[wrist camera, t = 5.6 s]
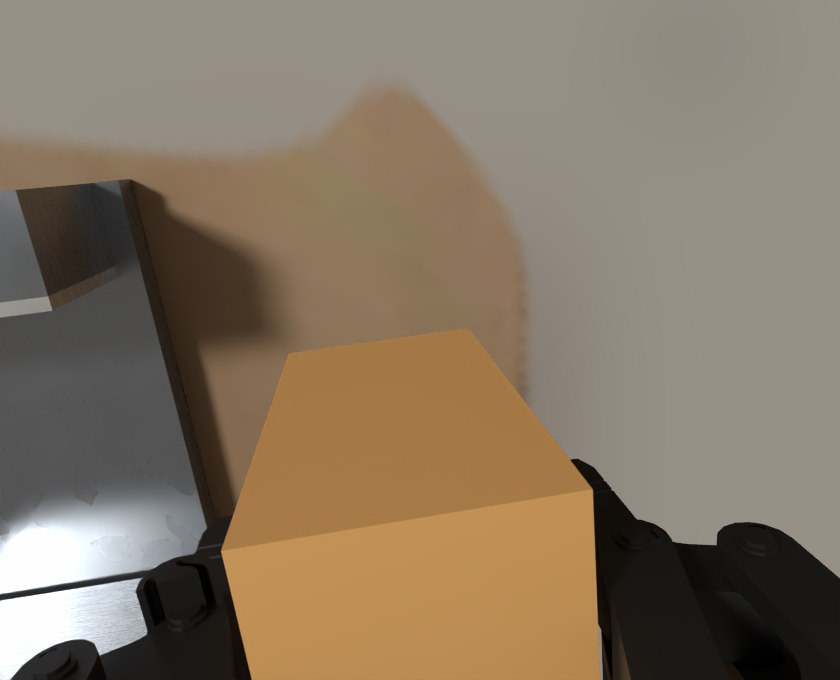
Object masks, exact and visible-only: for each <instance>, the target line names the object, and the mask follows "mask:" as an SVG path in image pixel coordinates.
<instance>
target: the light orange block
mask: <svg viewBox="0 0 840 680" xmlns="http://www.w3.org/2000/svg"><path fill="white" fill-rule="evenodd" d="M221 553H222V557H223V561H224V566H225V570H226V574H227V578H228V582H229V586H230V591H231V595H232V599H233V603H234V607H235V611H236V616H237V620H238V624H239V628H240V632H241V636H242V641H243V645H244V649H245V653H246V657H247V661H248V666H249V670H250V674H251V678H252V680H600V665H599V664H600V663H599V637H598V612H597V586H596V560H595V535H594V509H593V489H592V488H591V486H590V485H589V484H588V483H587V481H586V480H585V479H584V477H583V476H582V475H581V474H580V472H579V471H578V470H577V468H576V467H575V466H574V465H573V463H572V462H571V461H570V459H569V458H568V457H567V456H566V454H565V453H564V452H563V450H562V449H561V448H560V447H559V445H558V444H557V443H556V441H555V440H554V439H553V437H552V436H551V435H550V434H549V432H548V431H547V430H546V428H545V427H544V426H543V425H542V423H541V422H540V421H539V419H538V418H537V417H536V416H535V414H534V413H533V412H532V410H531V409H530V408H529V406H528V405H527V404H526V403H525V401H524V400H523V399H522V397H521V396H520V395H519V394H518V392H517V391H516V390H515V388H514V387H513V386H512V385H511V383H510V382H509V381H508V379H507V378H506V377H505V376H504V374H503V373H502V372H501V370H500V369H499V368H498V366H497V365H496V364H495V363H494V361H493V360H492V359H491V357H490V356H489V355H488V354H487V352H486V351H485V350H484V348H483V347H482V346H481V345H480V343H479V342H478V341H477V339H476V338H475V337H474V336H473V334H472V333H471V332H470V330H469V329H468V328H466V329H459V330H452V331H444V332H437V333H430V334H423V335H416V336H409V337H402V338H395V339H388V340H381V341H374V342H367V343H360V344H353V345H346V346H338V347H331V348H324V349H317V350H310V351H303V352H296V353H289V355H288V358H287V361H286V363H285V366H284V369H283V372H282V375H281V378H280V381H279V384H278V387H277V390H276V392H275V395H274V398H273V401H272V404H271V407H270V410H269V413H268V416H267V419H266V422H265V424H264V427H263V430H262V433H261V436H260V439H259V442H258V445H257V448H256V451H255V453H254V456H253V459H252V462H251V465H250V468H249V471H248V474H247V477H246V480H245V482H244V485H243V488H242V491H241V494H240V497H239V500H238V503H237V506H236V509H235V512H234V514H233V517H232V520H231V523H230V526H229V529H228V532H227V535H226V538H225V541H224V543H223V546H222V549H221Z"/></svg>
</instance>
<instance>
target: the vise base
mask: <svg viewBox="0 0 840 680" xmlns="http://www.w3.org/2000/svg"><path fill="white" fill-rule="evenodd" d="M215 520H216V519H215V515H214V511H213V507H212V503H211V499H210V495H209V491H208V487H207V483H206V479H205V475H204V471H203V467H202V463H201V459H200V455H199V451H198V447H197V443H196V439H195V435H194V431H193V427H192V423H191V419H190V415H189V411H188V407H187V403H186V399H185V395H184V391H183V387H182V383H181V379H180V375H179V371H178V367H177V363H176V359H175V355H174V351H173V347H172V343H171V339H170V335H169V331H168V327H167V323H166V319H165V315H164V311H163V307H162V302H161V298H160V294H159V290H158V286H157V282H156V278H155V274H154V270H153V266H152V262H151V258H150V254H149V250H148V246H147V242H146V238H145V234H144V230H143V226H142V222H141V218H140V214H139V210H138V206H137V202H136V198H135V194H134V190H133V186H132V182H131V179H128V180H117V181H108V182H99V183H90V184H79V185H68V186H57V187H46V188H34V189H23V190H13V191H4V192H0V601H2V600H9V599H15V598H21V597H27V596H33V595H39V594H46V593H52V592H58V591H64V590H70V589H76V588H83V587H89V586H95V585H101V584H107V583H113V582H120V581H126V580H132V579H138V578H143V577H144V576H145V575H146V574H147V573H148V572H149V571H150V570H152V569H153V568H155V567H157V566H158V565H160V564H161V563H163V562H166V561H168V560H171V559H173V558H176V557H180V556H185V555H190V554H195V551H196V550H197V547H198V544H199V542H200V539H201V537H202V534H203V532H204V531H205V530H206V529H207V528H208V527H209V526H210V525H211V524H212V523H213V522H214V521H215ZM251 680H252V678H251Z"/></svg>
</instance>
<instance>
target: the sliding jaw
mask: <svg viewBox="0 0 840 680" xmlns="http://www.w3.org/2000/svg"><path fill="white" fill-rule="evenodd" d="M141 579H142V578H138V579H132V580H126V581H120V582H113V583H107V584H101V585H95V586H89V587H83V588H76V589H70V590H64V591H58V592H52V593H46V594H39V595H33V596H27V597H21V598H15V599H9V600H2V601H0V680H11V678H12V677H13V676H14V675H15V673H16V672H17V671H18V670H19V669H20V668H21V666H22V665H23V664H25V663H26V662H27V661H29V660H30V659H31V658H33V657H34V656H35V655H36V654H38V653H40V652H42V651H43V650H45V649H47V648H49V647H51V646H53V645H55V644H59V643H62V642H65V641H69V640H79V639H85V640H88V641H90V642H93V643H94V644H95V646H96V648H97V650H98V653H99V656H100V655H102V654H105V653H107V652H110V651H112V650H115V649H117V648H120V647H123V646H125V645H128V644H130V643H132V642H134V641H136V640H138V639H140V638H142V637H144V636H145V635H147V628H146V624H145V621H144V618H143V614H142V611H141V608H140V604H139V601H138V598H137V594H136V588H137V586H138V584H139V581H140V580H141Z"/></svg>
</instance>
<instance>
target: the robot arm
mask: <svg viewBox="0 0 840 680" xmlns="http://www.w3.org/2000/svg"><path fill="white" fill-rule="evenodd" d="M570 461H571V462H572V463H573V465H574V466H575V467H576V468H577V470H578V471H579V472H580V474H581V475H582V476H583V477H584V479H585V480H586V481H587V483H588V484H589V485H590V486H591V488H592V489H593V509H594V535H595V560H596V586H597V612H598V625H599V626H600V628H601V631H602V632H601V633H602V663H603V680H840V578H839V577H837V576H836V575H835V574H834V573H833V572H832V571H830V570H829V569H828V568H827V567H826V566H825V565H823V564H822V563H821V562H820V561H819V560H817V559H816V558H815V557H814V556H813V555H812V554H810V553H809V552H808V551H807V550H806V549H805V548H803V547H802V546H801V545H800V544H799V543H798V542H796V541H795V540H794V539H793V538H792V537H790V536H788V535H786V534H785V533H784V532H782V531H780V530H778V529H775V528H772V527H770V526H767V525H764V524H759V523H750V522H744V523H733V524H730V525H727V526H724V527H723V528H722V529H721V530H720V531H719V532H718V534H717V545H696V544H682V543H676V542H672V539H671V538H670V536H669V535H668V534H667V533H666V531H664V530H663V529H662V528H660V527H658V526H657V525H655V524H653V523H650V522H646V521H643V520H637V519H636V518H635V517H634V515H633V514H632V513H631V512H630V511H629V509H628V508H627V507H626V506H625V505H624V503H623V502H622V501H621V500H620V498H619V497H618V496H617V495H616V494H615V492H614V491H612V490H611V488H610V486H609V485H608V484H607V483H606V482H605V481H604V479H603V478H602V477H601V475H600V474H599V473H598V472H597V470H596V469H595V468H594V467H592V466H590V465H589V464H587V463H585V462H583V461H581V460H579V459H572V460H570ZM232 517H233V516H227V517H221V518H217V519H216V520H215V521H214V522H213V523H212V524H211V525H210V526H209V527H208V528H207V529H206V530H205V531H204V532H203V534H202V537H201V539H200V542H199V544H198V547H197V550H196V551H195V554H190V555H185V556H180V557H176V558H173V559H171V560H168V561H166V562H163V563H161V564H160V565H158V566H157V567H155V568H153V569H152V570H150V571H149V572H148V573H147V574H146V575H145V576H144V577H143V578H142V579H141V580H140V581H139V584H138V586H137V588H136V594H137V598H138V601H139V604H140V608H141V611H142V614H143V618H144V621H145V624H146V628H147V635H145V636H144V637H142V638H140V639H138V640H136V641H134V642H132V643H130V644H128V645H125V646H123V647H120V648H117V649H115V650H112V651H110V652H107V653H105V654H102V655H100V656H99V653H98V650H97V648H96V646H95V644H94V643H93V642H90V641H88V640H85V639H79V640H69V641H65V642H62V643H59V644H55V645H53V646H51V647H49V648H47V649H45V650H43V651H42V652H40V653H38V654H36V655H35V656H34V657H33V658H31V659H30V660H29V661H27V662H26V663H25V664H23V665H22V666H21V668H20V669H19V670H18V671H17V672H16V673H15V675H14V676H13V677H12V678H11V680H251V674H250V670H249V666H248V661H247V657H246V653H245V649H244V645H243V641H242V636H241V632H240V628H239V624H238V620H237V616H236V611H235V607H234V603H233V599H232V595H231V591H230V586H229V582H228V578H227V574H226V570H225V566H224V561H223V557H222V553H221V549H222V546H223V543H224V541H225V538H226V535H227V532H228V529H229V526H230V523H231V520H232Z"/></svg>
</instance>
